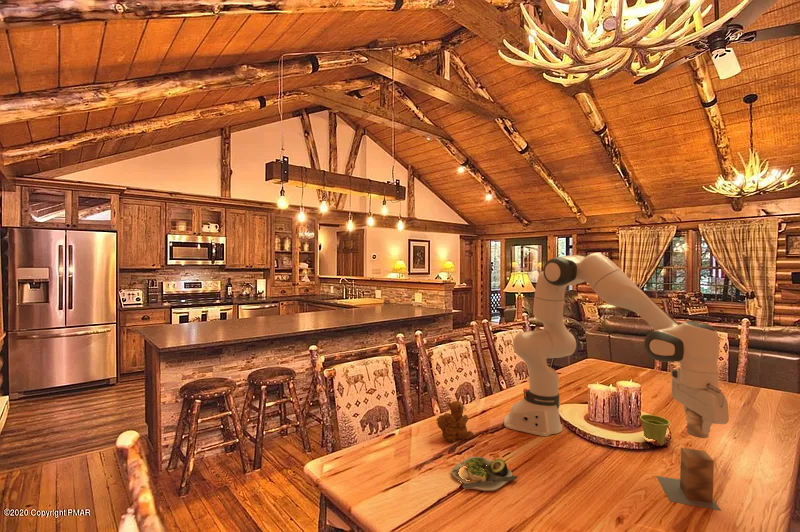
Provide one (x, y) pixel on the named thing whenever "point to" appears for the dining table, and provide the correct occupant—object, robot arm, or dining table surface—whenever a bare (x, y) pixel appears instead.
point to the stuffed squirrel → (454, 423)
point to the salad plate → (484, 473)
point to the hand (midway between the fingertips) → (697, 426)
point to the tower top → (697, 464)
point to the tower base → (696, 488)
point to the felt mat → (681, 494)
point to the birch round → (695, 425)
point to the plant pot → (655, 427)
